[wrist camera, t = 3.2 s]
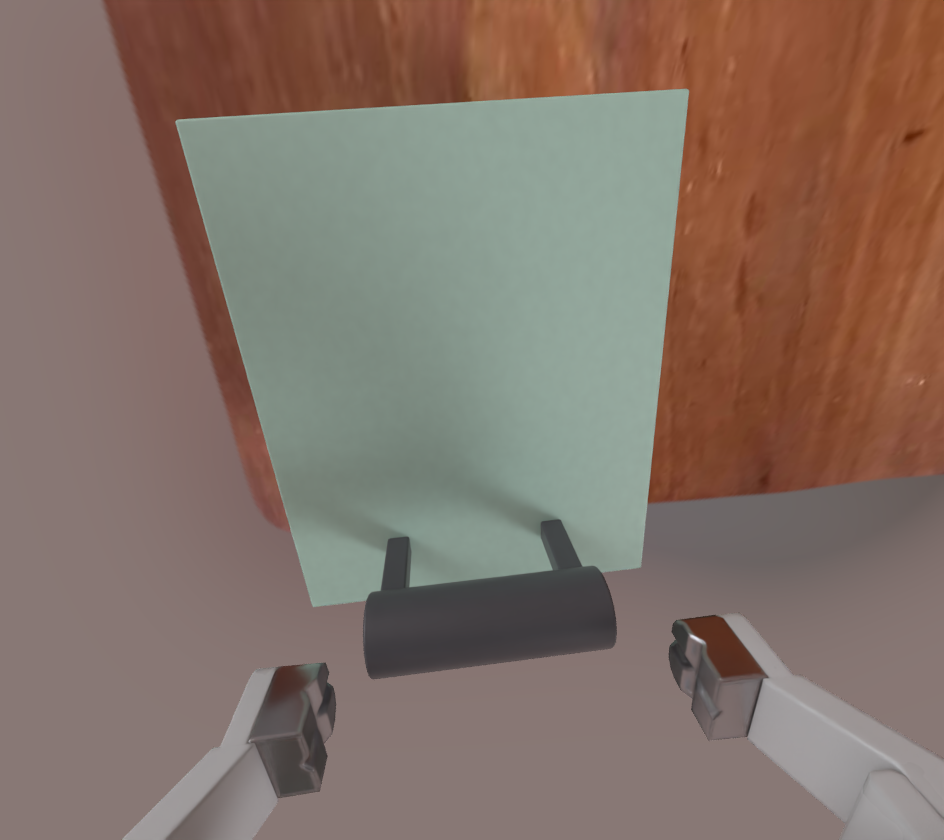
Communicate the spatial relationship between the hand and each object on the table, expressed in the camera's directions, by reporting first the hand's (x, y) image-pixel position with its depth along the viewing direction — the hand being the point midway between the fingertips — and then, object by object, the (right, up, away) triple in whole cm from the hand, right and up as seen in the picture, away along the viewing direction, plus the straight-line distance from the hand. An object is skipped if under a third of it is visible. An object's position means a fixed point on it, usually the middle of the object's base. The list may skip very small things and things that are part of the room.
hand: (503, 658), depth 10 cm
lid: (-1, +6, +3) cm, 7 cm away
